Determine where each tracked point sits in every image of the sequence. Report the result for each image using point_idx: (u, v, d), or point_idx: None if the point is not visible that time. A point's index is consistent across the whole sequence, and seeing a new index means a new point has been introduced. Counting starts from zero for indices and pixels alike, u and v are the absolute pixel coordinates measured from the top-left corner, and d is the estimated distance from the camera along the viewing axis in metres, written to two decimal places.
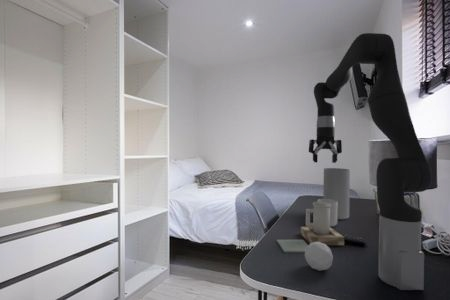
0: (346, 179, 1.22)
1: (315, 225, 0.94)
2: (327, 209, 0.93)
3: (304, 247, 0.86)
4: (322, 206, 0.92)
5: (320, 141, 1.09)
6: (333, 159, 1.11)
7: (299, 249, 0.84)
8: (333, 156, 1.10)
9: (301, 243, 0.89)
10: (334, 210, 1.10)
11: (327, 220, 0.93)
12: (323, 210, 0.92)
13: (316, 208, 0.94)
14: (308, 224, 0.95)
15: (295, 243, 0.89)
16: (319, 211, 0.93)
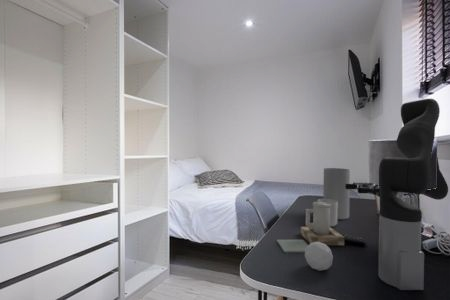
0: (346, 179, 1.22)
1: (315, 225, 0.94)
2: (327, 209, 0.93)
3: (304, 247, 0.86)
4: (322, 206, 0.92)
5: None
6: None
7: (299, 249, 0.84)
8: None
9: (301, 243, 0.89)
10: (334, 210, 1.10)
11: (327, 220, 0.93)
12: (323, 210, 0.92)
13: (316, 208, 0.94)
14: (308, 224, 0.95)
15: (295, 243, 0.89)
16: (319, 211, 0.93)
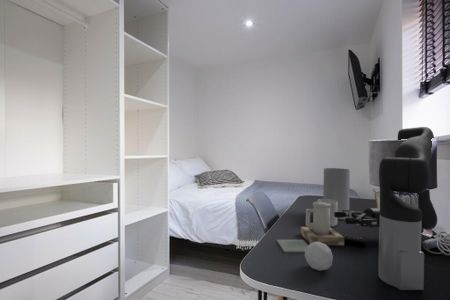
0: (346, 179, 1.22)
1: (315, 225, 0.94)
2: (327, 209, 0.93)
3: (304, 247, 0.86)
4: (322, 206, 0.92)
5: None
6: None
7: (299, 249, 0.84)
8: None
9: (301, 243, 0.89)
10: (334, 210, 1.10)
11: (327, 220, 0.93)
12: (323, 210, 0.93)
13: (316, 208, 0.94)
14: (308, 224, 0.95)
15: (295, 243, 0.89)
16: (319, 211, 0.93)
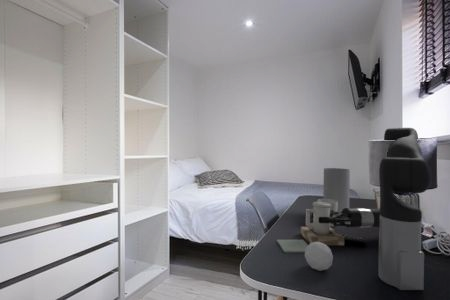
0: (346, 179, 1.22)
1: (315, 225, 0.94)
2: (327, 209, 0.93)
3: (304, 247, 0.86)
4: (322, 206, 0.92)
5: None
6: None
7: (299, 249, 0.84)
8: None
9: (301, 243, 0.89)
10: (334, 210, 1.10)
11: None
12: (323, 210, 0.92)
13: (316, 208, 0.94)
14: (308, 224, 0.95)
15: (295, 243, 0.89)
16: (319, 211, 0.93)
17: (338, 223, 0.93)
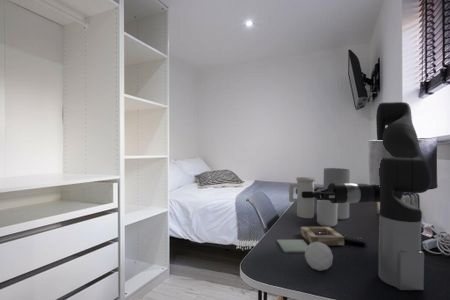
0: (346, 179, 1.22)
1: (299, 201, 0.90)
2: (311, 183, 0.88)
3: (304, 247, 0.86)
4: (305, 180, 0.87)
5: None
6: None
7: (299, 249, 0.84)
8: None
9: (301, 243, 0.89)
10: (334, 210, 1.10)
11: None
12: (306, 184, 0.88)
13: (299, 183, 0.89)
14: (291, 200, 0.90)
15: (295, 243, 0.89)
16: (302, 185, 0.88)
17: (323, 198, 0.88)
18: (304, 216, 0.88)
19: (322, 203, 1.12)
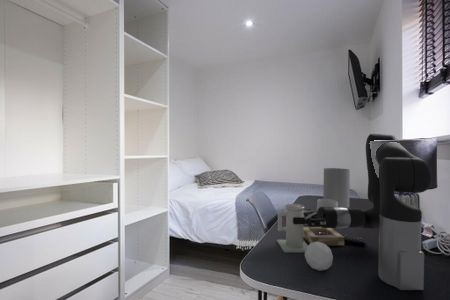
0: (346, 179, 1.22)
1: (287, 229, 0.87)
2: (300, 212, 0.85)
3: (304, 247, 0.86)
4: (294, 209, 0.85)
5: None
6: None
7: (299, 249, 0.84)
8: None
9: None
10: None
11: (300, 224, 0.85)
12: (295, 213, 0.85)
13: (288, 211, 0.86)
14: (280, 228, 0.87)
15: None
16: (291, 214, 0.85)
17: (313, 223, 0.85)
18: (293, 246, 0.85)
19: (322, 203, 1.12)
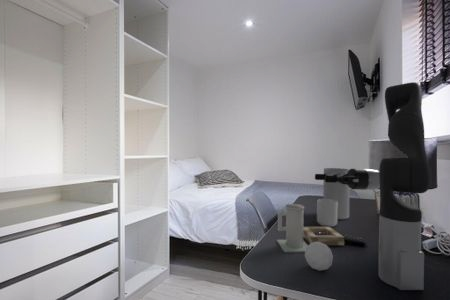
0: None
1: (287, 229, 0.87)
2: (300, 212, 0.85)
3: (304, 247, 0.86)
4: (294, 209, 0.85)
5: None
6: None
7: (299, 249, 0.84)
8: None
9: None
10: (334, 210, 1.10)
11: (300, 224, 0.85)
12: (295, 213, 0.85)
13: (288, 211, 0.86)
14: (280, 228, 0.87)
15: None
16: (291, 214, 0.86)
17: None
18: (293, 246, 0.85)
19: (322, 203, 1.12)
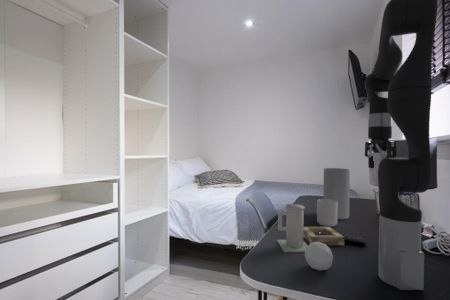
0: (346, 179, 1.22)
1: (288, 229, 0.87)
2: (300, 212, 0.85)
3: (304, 247, 0.86)
4: (294, 209, 0.85)
5: (372, 144, 0.95)
6: None
7: (299, 249, 0.84)
8: None
9: None
10: (334, 210, 1.10)
11: (300, 224, 0.85)
12: (296, 213, 0.85)
13: (288, 211, 0.87)
14: (280, 228, 0.87)
15: None
16: (291, 214, 0.86)
17: None
18: (293, 246, 0.85)
19: (322, 203, 1.12)
